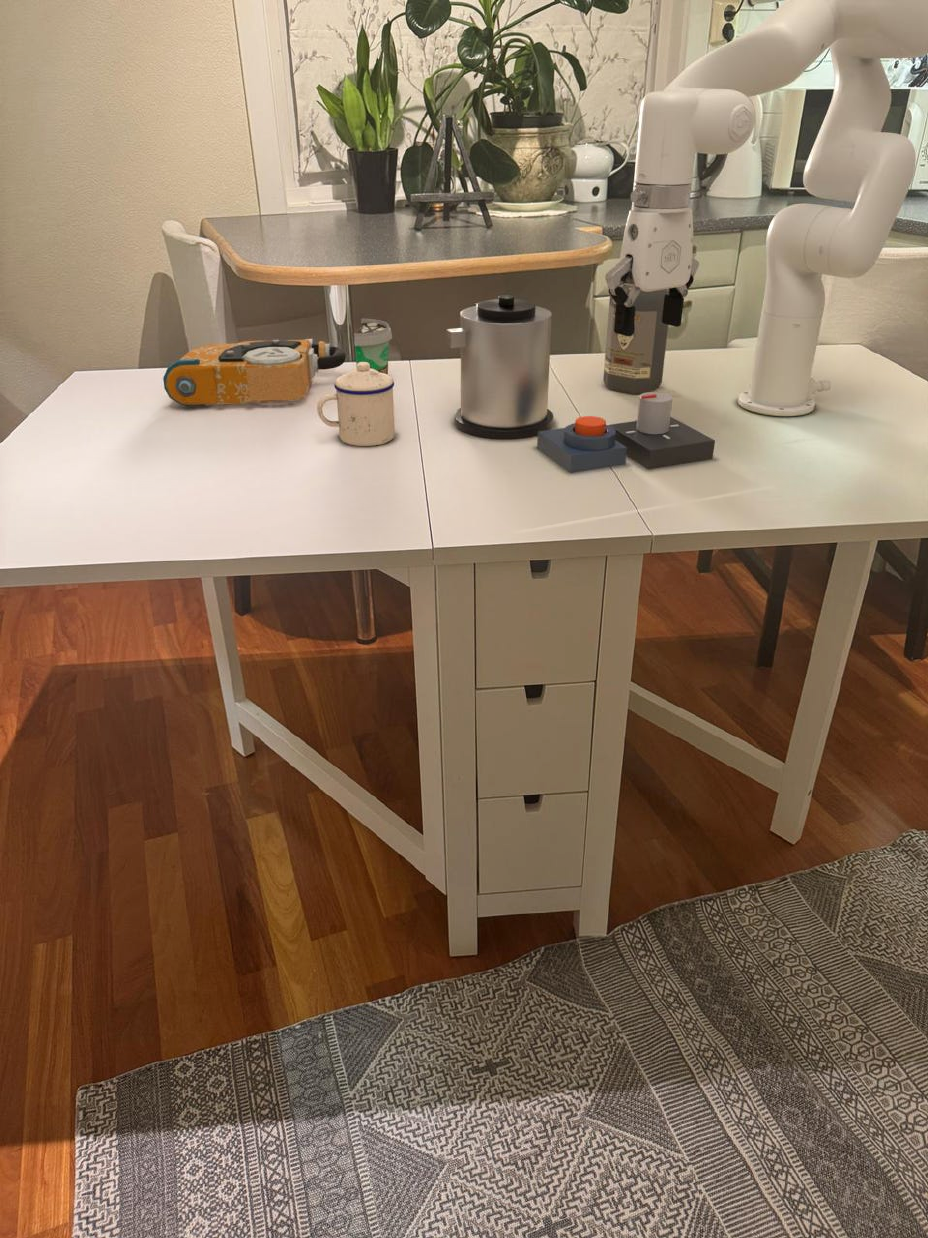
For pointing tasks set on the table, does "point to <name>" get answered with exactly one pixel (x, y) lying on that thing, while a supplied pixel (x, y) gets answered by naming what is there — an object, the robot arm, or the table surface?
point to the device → (249, 372)
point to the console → (664, 445)
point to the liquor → (637, 347)
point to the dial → (654, 413)
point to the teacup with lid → (363, 407)
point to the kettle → (503, 369)
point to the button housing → (581, 449)
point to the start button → (590, 426)
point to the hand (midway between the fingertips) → (647, 329)
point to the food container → (373, 344)
